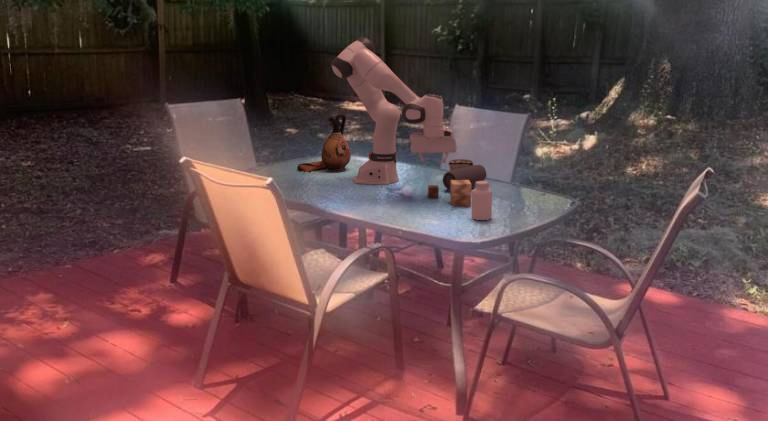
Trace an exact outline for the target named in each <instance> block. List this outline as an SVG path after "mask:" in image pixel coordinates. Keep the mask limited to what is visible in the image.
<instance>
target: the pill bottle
mask: <svg viewBox="0 0 768 421" xmlns="http://www.w3.org/2000/svg"><path fill="white" fill-rule="evenodd" d="M489 184H490V182H488V181H487V180H483V181H477V182H476V183H475V184H474V185H475V188H474V189H472V190H471V219H472V218H473V219H472V220H474V219H476V220H475V221H477V220H487V221H490V220H491V219H492V211H493V209H492V208H493V205H492V203H493V191H492V190H491V189H490V185H489ZM489 219H490V220H489Z"/></svg>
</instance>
